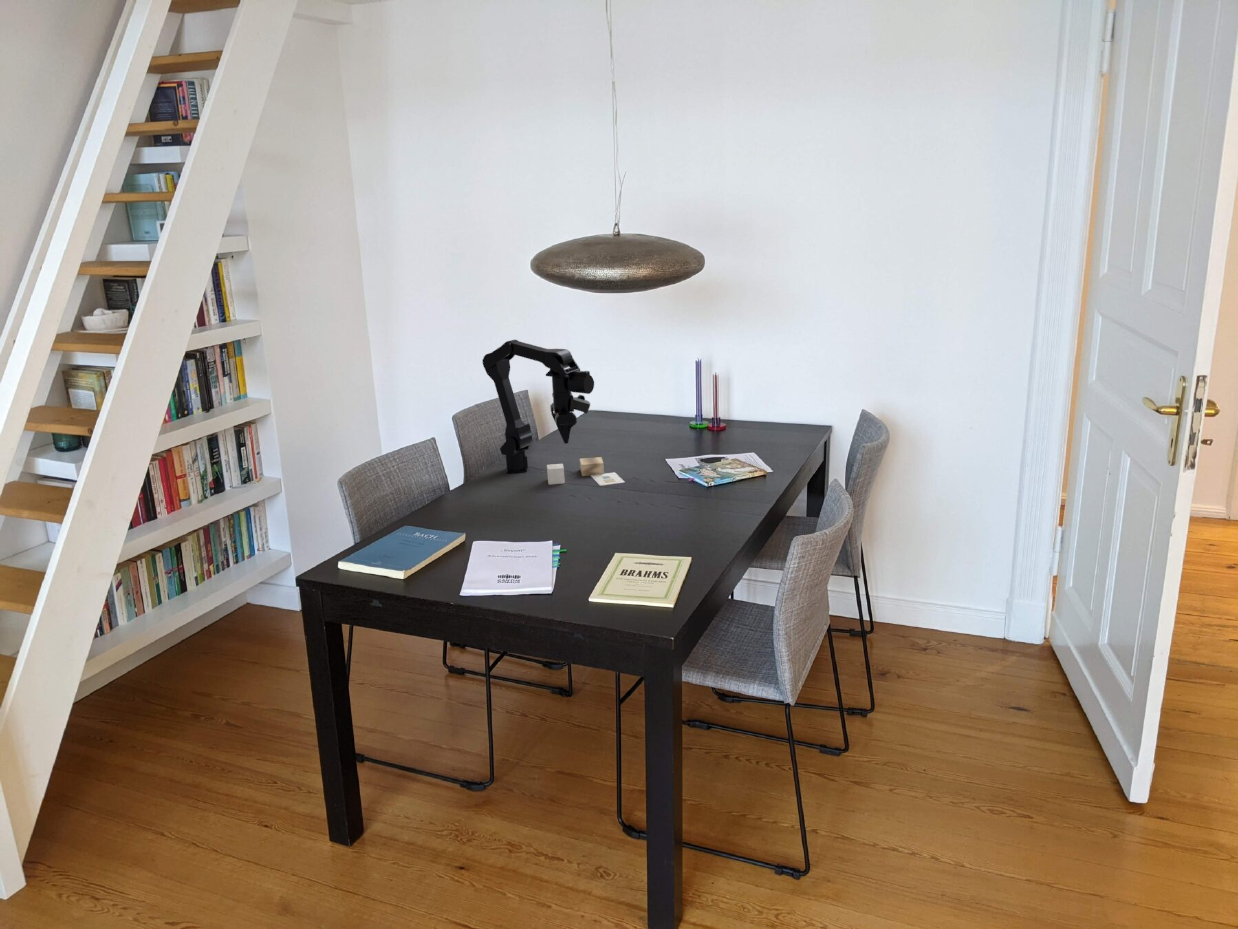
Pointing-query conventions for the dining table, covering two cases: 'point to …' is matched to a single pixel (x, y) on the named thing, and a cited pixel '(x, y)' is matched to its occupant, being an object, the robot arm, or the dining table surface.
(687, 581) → the dining table surface
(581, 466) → the oak base
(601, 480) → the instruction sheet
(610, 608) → the dining table surface
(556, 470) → the white cube
